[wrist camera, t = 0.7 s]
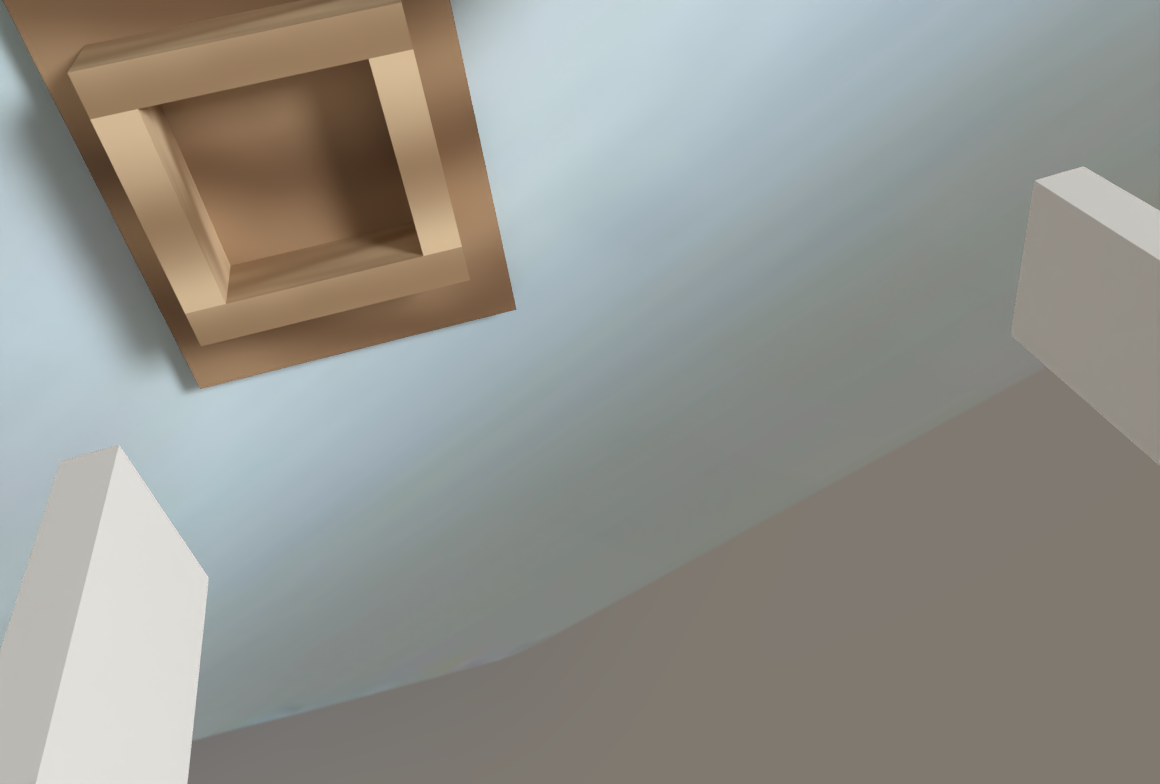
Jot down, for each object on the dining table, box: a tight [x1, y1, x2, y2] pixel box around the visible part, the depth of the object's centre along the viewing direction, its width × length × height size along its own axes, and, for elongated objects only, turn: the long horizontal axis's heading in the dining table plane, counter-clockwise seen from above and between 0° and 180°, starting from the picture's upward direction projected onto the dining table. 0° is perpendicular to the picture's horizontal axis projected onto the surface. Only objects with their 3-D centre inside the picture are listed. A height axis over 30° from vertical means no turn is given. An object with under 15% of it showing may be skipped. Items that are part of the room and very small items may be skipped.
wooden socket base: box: [3, 0, 516, 389], centre depth 33 cm, size 18×14×4 cm
